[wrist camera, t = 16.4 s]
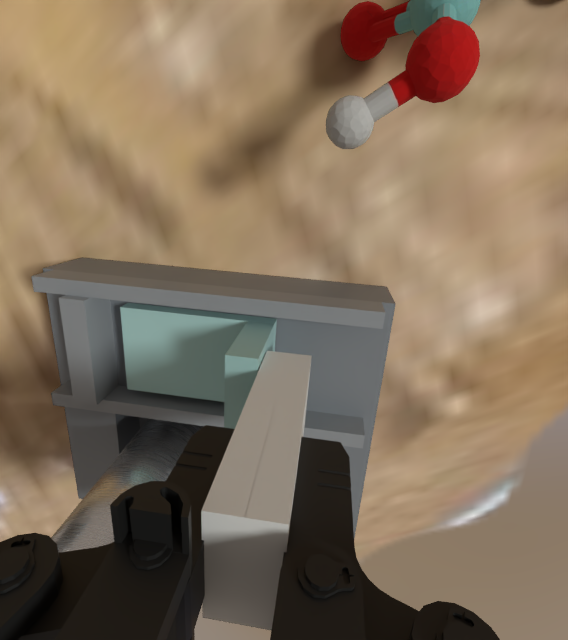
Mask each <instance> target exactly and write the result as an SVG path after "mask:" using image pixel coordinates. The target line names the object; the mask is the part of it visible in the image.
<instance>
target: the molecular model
mask: <svg viewBox="0 0 568 640" xmlns="http://www.w3.org/2000/svg"><path fill="white" fill-rule="evenodd" d="M480 1H481V0H411V1H408V2H406V3H403V4H401V5H398V6H396V7H393V8H390V9H388V10H385V11H384V9H383V8H382V7H381V6H379V5H378V4H376V3H373V2H369V1H367V2H362V3H359V4H357V5H355V6H354V7H353V8H352V9H351V10H350V11H349V12H348V14H347V15H346V17H345V18H344V21H343V24H342V28H341V43H342V46H343V49H344V51H345V52H346V54H347V55H348V56H349V57H351V58H352V59H355V60H359V61H365V60H369V59H371V58H373V57H375V56H376V55H377V54H378V53H380V51H381V50H382V49H383V47H384V45H385V43H386V40H387V38H389V37H392V36H395V35H398V34H403V33H406V32H409V31H412V30H414V32H415V34H416V35H417V36H418V37H417V38H416V40H415V41H414V43H413V45H412V47H411V49H410V51H409V53H408V57H407V61H406V70H405V71H404V72H402V73H401V74H399V75H398V76H396V77H395V78H393V79H392V80H390V81H389V82H387V83H386V84H384V85H383V86H381V87H380V88H378V89H377V90H375V91H374V92H373V93H371V94H370V95H368V96H367V97H365V98H364V99H363V98H362V97H359V96H345V97H343V98H340V99H339V100H338V101H336V102H335V103H334V104H333V106H332V107H331V108H330V110H329V112H328V115H327V119H326V132H327V134H328V137H329V138H330V140H331V141H332V142H333V143H334V144H335V145H336V146H337V147H340V148H342V149H354V148H356V147H358V146H360V145H362V144H363V143H365V142H366V141H367V139H368V138H369V137H370V134H371V132H372V130H373V126H374V122H375V121H377V120H379V119H380V118H382V117H383V116H385V115H386V114H388V113H390V112H391V111H393V110H394V109H396V108H397V107H399V106H401V105H402V104H404V103H405V102H407V101H408V100H410V99H412V98H413V97H415V96H417V97H418V98H420V99H421V100H425V101H429V102H432V103H437V102H443V101H446V100H448V99H450V98H452V97H454V96H456V95H458V94H459V93H460V92H461V91H462V90H463V89H464V88H465V87H466V86H467V84H468V83H469V81H470V80H471V78H472V77H473V75H474V73H475V71H476V69H477V66H478V62H479V57H480V52H479V41H478V39H477V37H476V34H475V32H474V31H473V30H472V29H471V28H470V26H469V25H470V24H471V23H472V21H473V19H474V17H475V15H476V14H477V11H478V8H479V5H480Z"/></svg>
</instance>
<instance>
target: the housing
mask: <svg viewBox="0 0 568 640" xmlns="http://www.w3.org/2000/svg"><path fill="white" fill-rule="evenodd" d="M32 282H33V288H34V292H43V293H47V299H48V305H49V312H50V318H51V324H52V331H53V337H54V344H55V350H56V356H57V363H58V369H59V375H60V382H61V386H60V387H58V388H57V389H56V390H54V391H53V392H51V395H52V401H53V405H56V406H63V407H65V414H66V420H67V426H68V433H69V439H70V446H71V452H72V458H73V465H74V471H75V477H76V484H77V490H78V497H79V498H81V499H83V498H84V497H85V496H86V495H87V493H88V492H89V491H90V490H91V488H92V487H93V486H94V485H95V483H96V482H97V481H98V480H99V479H100V477H101V476H102V475H103V474H104V472H105V471H106V470H107V469H108V468H109V466H110V465H111V464H112V463H113V461H114V460H115V459H116V458H117V457H118V455H119V454H120V453H121V452H122V450H123V449H124V448H125V447H126V445H127V444H128V443H129V442H130V441H131V439H132V438H133V437H134V436H135V434H136V433H137V432H138V431H139V430H140V428H141V427H142V426H143V425H144V423H145V422H146V421H147V420H148V419H156V420H163V421H170V422H177V423H184V424H191V425H198V426H205V425H209V426H217V427H224V402H220V401H212V400H205V399H197V398H190V397H182V396H175V395H167V394H160V393H152V392H145V391H137V390H130V389H127V379H126V368H125V356H124V345H123V334H122V322H121V311H120V307H121V306H123V305H125V304H127V303H136V304H146V305H155V306H164V307H173V308H183V309H192V310H201V311H211V312H220V313H229V314H238V315H248V316H257V317H266V318H275V319H277V324H276V340H275V352H284V353H292V354H301V355H310V356H312V357H311V367H310V377H309V386H308V396H307V406H306V416H305V426H304V434H303V437H307V438H315V439H322V440H329V441H337V442H341V444H342V446H343V447H344V449H345V451H346V452H347V454H348V456H349V459H350V477H351V495H352V513H353V532H354V537H355V531H356V525H357V520H358V514H359V508H360V503H361V497H362V491H363V486H364V480H365V474H366V469H367V463H368V457H369V451H370V446H371V440H372V434H373V429H374V423H375V417H376V412H377V406H378V400H379V395H380V389H381V383H382V378H383V372H384V366H385V360H386V355H387V349H388V343H389V338H390V332H391V326H392V321H393V315H394V309H395V302H394V300H393V298H392V296H391V294H390V292H389V290H388V288H387V287H384V286H373V285H363V284H352V283H342V282H332V281H321V280H311V279H300V278H290V277H280V276H269V275H259V274H248V273H238V272H227V271H217V270H207V269H196V268H186V267H175V266H165V265H155V264H144V263H134V262H123V261H113V260H102V259H92V258H79V259H75V260H71V261H68V262H64V263H60V264H57V265H53V266H49V267H46V268H43V273H40V274H37V275H33V276H32Z"/></svg>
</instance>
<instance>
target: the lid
mask: <svg viewBox="0 0 568 640" xmlns="http://www.w3.org/2000/svg"><path fill="white" fill-rule="evenodd" d="M120 311H121V322H122V334H123V345H124V356H125V368H126V379H127V389H130V390H137V391H145V392H152V393H160V394H167V395H175V396H182V397H190V398H197V399H205V400H212V401H220V402H224V428H231V429H235V427H236V425H237V422H238V420H239V417H240V415H241V413H242V410H243V408H244V405H245V403H246V400H247V398H248V395H249V393H250V391H251V388H252V386H253V383H254V381H255V378H256V376H257V373H258V371H259V369H260V366H261V364H262V361H263V359H264V356H265V354H266V351H275V340H276V324H277V319H275V318H266V317H257V316H248V315H238V314H229V313H220V312H211V311H201V310H192V309H183V308H173V307H164V306H155V305H146V304H136V303H127V304H125V305H123V306H121V307H120Z"/></svg>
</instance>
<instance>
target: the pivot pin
mask: <svg viewBox="0 0 568 640" xmlns="http://www.w3.org/2000/svg"><path fill="white" fill-rule="evenodd" d="M203 427H204V426H198V425H191V424H184V423H177V422H170V421H163V420H156V419H148V420H147V421H146V422H145V423H144V425H143V426H142V427H141V428H140V430H139V431H138V432H137V433H136V434H135V436H134V437H133V438H132V439H131V441H130V442H129V443H128V444H127V445H126V447H125V448H124V449H123V450H122V452H121V453H120V454H119V455H118V457H117V458H116V459H115V460H114V461H113V463H112V464H111V465H110V466H109V468H108V469H107V470H106V471H105V472H104V474H103V475H102V476H101V477H100V479H99V480H98V481H97V482H96V483H95V485H94V486H93V487H92V488H91V490H90V491H89V492H88V493H87V495H86V496H85V497H84V498H83V499H82V501H81V502H80V503H79V504H78V506H77V507H76V508H75V509H74V510H73V512H72V513H71V514H70V515H69V517H68V518H67V519H66V520H65V521H64V523H63V524H62V525H61V526H60V528H59V529H58V530H57V531H56V532H55V534H54V535H53V536H52V537H51V539H52V540H53V541H54V542H56V543H57V547H58V552H59V553H60V552H67V551H74V550H81V549H88V548H95V547H99V546H103V545H107V544H110V543H112V542H114V534H113V526H112V518H111V510H110V505H111V504H112V503H113V502H114V500H115V499H116V498H117V497H118V496H119V495H120V494H121V493H123V492H125V491H127V490H128V489H130V488H132V487H134V486H135V485H139V484H142V483H146V482H150V481H166V480H167V478H168V476H169V475H170V473H171V471H172V469H173V468H174V466H176V462H177V461H178V459H179V457H180V455H181V454H182V453H183V450H184V448H185V446H186V445H187V443H188V441H189V439H190V438H191V436H192V435H194V434H195V433H196V432H198V431H199V430H200V429H201V428H203Z"/></svg>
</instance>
